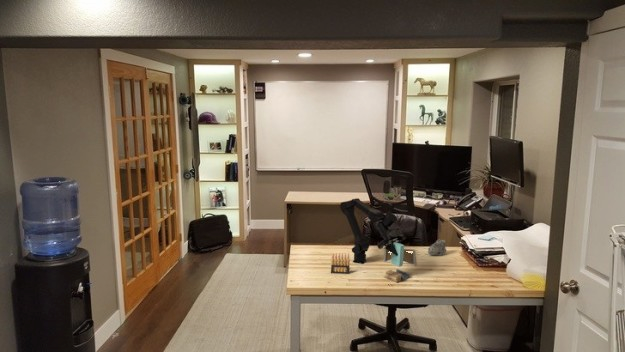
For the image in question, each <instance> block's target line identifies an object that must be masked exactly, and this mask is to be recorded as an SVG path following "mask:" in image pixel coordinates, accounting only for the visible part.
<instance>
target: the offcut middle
mask: <svg viewBox="0 0 625 352" xmlns="http://www.w3.org/2000/svg"><path fill="white" fill-rule="evenodd" d="M384 275H385V276H388V277H390V278H393V279H395V280H397V279H400V278H401V277H400V278H395V277H393V276H390V275H388V274H386V272H385V273H384Z"/></svg>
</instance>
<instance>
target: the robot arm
mask: <svg viewBox="0 0 625 352" xmlns="http://www.w3.org/2000/svg"><path fill="white" fill-rule="evenodd" d="M339 208H340V210H341V212H342V214H343V215H344V216H346V218H347V221H348V223H349V226H350V228H351V232H352V234H353V237H354V242H353V243H354V246H353V247H352V248H351V252H352V253H353V260H352V263H356V264H361V265H363V264H364V263H365V262H366V261H367V254H366V253H367V252H368V250H369V248H370V241H369V240H368V239H369V238H368V237H367V236H364V235H363V233H362V230H361V227H360V225H359V222H358V220H357V217H356V215H355V211H356V210H355V209H356V208H357V209H358V210H359V211H361V212H362V213H363V214H365V215H366V216H367V218H368V219H369V220H370V221H371V222H372V223H375V224H374V228H373V229H378V231H379V233H380V238H383V240H381V241H380V242H378V243H377V244H376V245H377V248H378V250H381V249H383V248H384V250H385V249H387V250H388V251H390V252H392V253H393V254H395V255H396V256H398V253H397V251H396V249H395V248H394V243H395V242H397V243H399V244H402V243H401V242H403V241H404V240H406V239H407V237H406V236H405V234H402V233H403V229H402V228H401V227H398V228H396V230H393V229H392V228H390V227H392V226H393V225H394V224H395V223H396V222H397V221H398V217H397V216H396V215H395V214H394V213H392V211H388V212H386V214H385V213H384V212H382V211H381V210H379V209H375V208H372V207H371V206H369V205H368V204H367V203H365V202H363V201H362V200H361V199H360V198H357V197H356V198H352V199H351V200H347V201H341V203H340V205H339Z"/></svg>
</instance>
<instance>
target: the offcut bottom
mask: <svg viewBox="0 0 625 352" xmlns="http://www.w3.org/2000/svg"><path fill="white" fill-rule="evenodd" d="M384 277H385V278H384V279H387V280H389V279H390V280H389V281H391V280H392V282H394V281H395V282H394V283H396V282H399V281H401V278H400V279H397V280H395V279H393V278H390V277H388V276H386V275H385V276H384ZM399 283H400V282H399Z"/></svg>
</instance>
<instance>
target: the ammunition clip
mask: <svg viewBox="0 0 625 352" xmlns="http://www.w3.org/2000/svg"><path fill="white" fill-rule="evenodd" d="M330 261H331V262H330V266H331V267H330V274H334V275H335V274H337V275H338V274H339V275H341V274H342V275H350V268H351V267H350V264H351V263H350V254H349V253H347V254H346V253H340V252H338V254H337V253H335V255H334V252H332V254H331V260H330Z"/></svg>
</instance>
